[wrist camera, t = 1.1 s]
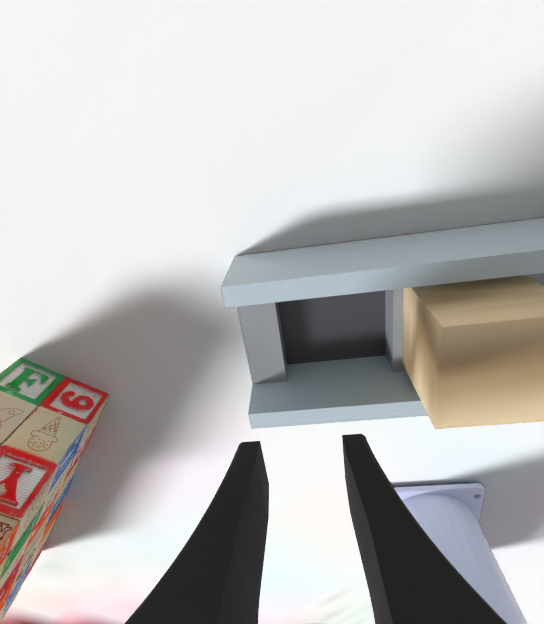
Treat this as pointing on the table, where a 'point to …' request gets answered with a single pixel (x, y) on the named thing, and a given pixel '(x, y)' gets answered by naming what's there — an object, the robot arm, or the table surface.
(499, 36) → the table surface
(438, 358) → the maple block
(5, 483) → the stack of blocks
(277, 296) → the pale green block
